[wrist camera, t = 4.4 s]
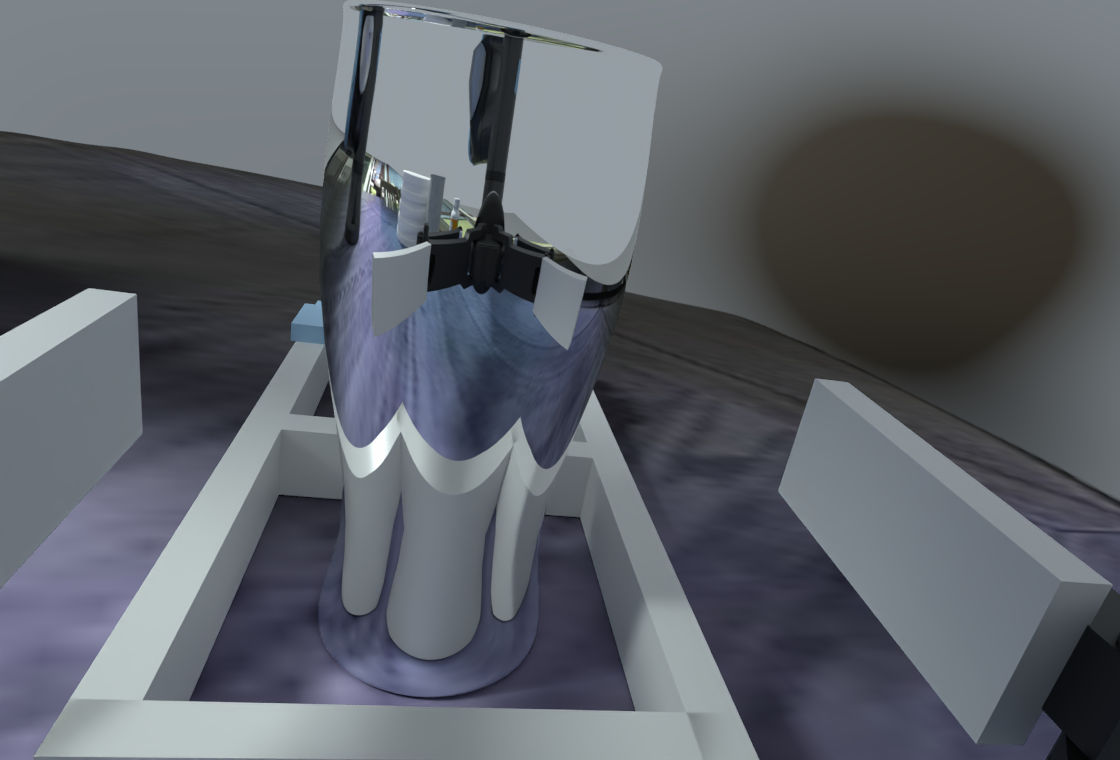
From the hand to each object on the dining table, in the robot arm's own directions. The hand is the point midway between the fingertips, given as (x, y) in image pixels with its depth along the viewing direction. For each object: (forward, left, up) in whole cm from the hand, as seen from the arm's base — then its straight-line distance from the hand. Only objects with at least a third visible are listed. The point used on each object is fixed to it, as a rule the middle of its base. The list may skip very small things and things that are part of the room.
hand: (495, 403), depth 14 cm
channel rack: (-9, +4, -8) cm, 13 cm away
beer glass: (-3, +1, -9) cm, 9 cm away
